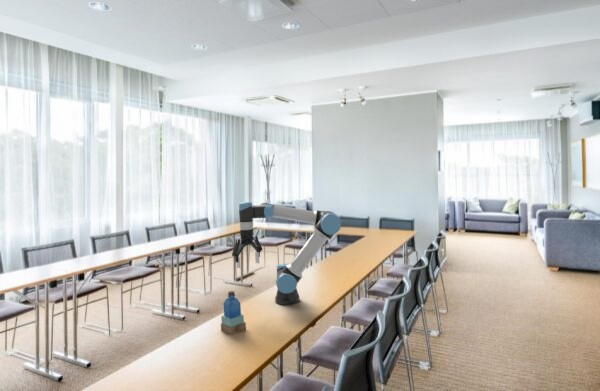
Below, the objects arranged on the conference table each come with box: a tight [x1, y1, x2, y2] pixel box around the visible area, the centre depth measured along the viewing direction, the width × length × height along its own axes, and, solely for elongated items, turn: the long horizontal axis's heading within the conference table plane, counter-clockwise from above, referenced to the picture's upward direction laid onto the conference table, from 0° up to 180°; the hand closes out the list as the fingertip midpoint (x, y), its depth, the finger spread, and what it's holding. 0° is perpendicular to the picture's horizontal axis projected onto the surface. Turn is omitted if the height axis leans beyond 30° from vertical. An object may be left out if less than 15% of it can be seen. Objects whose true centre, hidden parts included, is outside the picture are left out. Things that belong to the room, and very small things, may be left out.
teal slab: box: [220, 313, 245, 327], centre depth 187 cm, size 8×8×4 cm
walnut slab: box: [220, 321, 247, 336], centre depth 187 cm, size 9×9×4 cm
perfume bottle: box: [223, 290, 242, 319], centre depth 186 cm, size 6×6×12 cm
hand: (248, 265), depth 211 cm, fingers open, 13 cm apart
